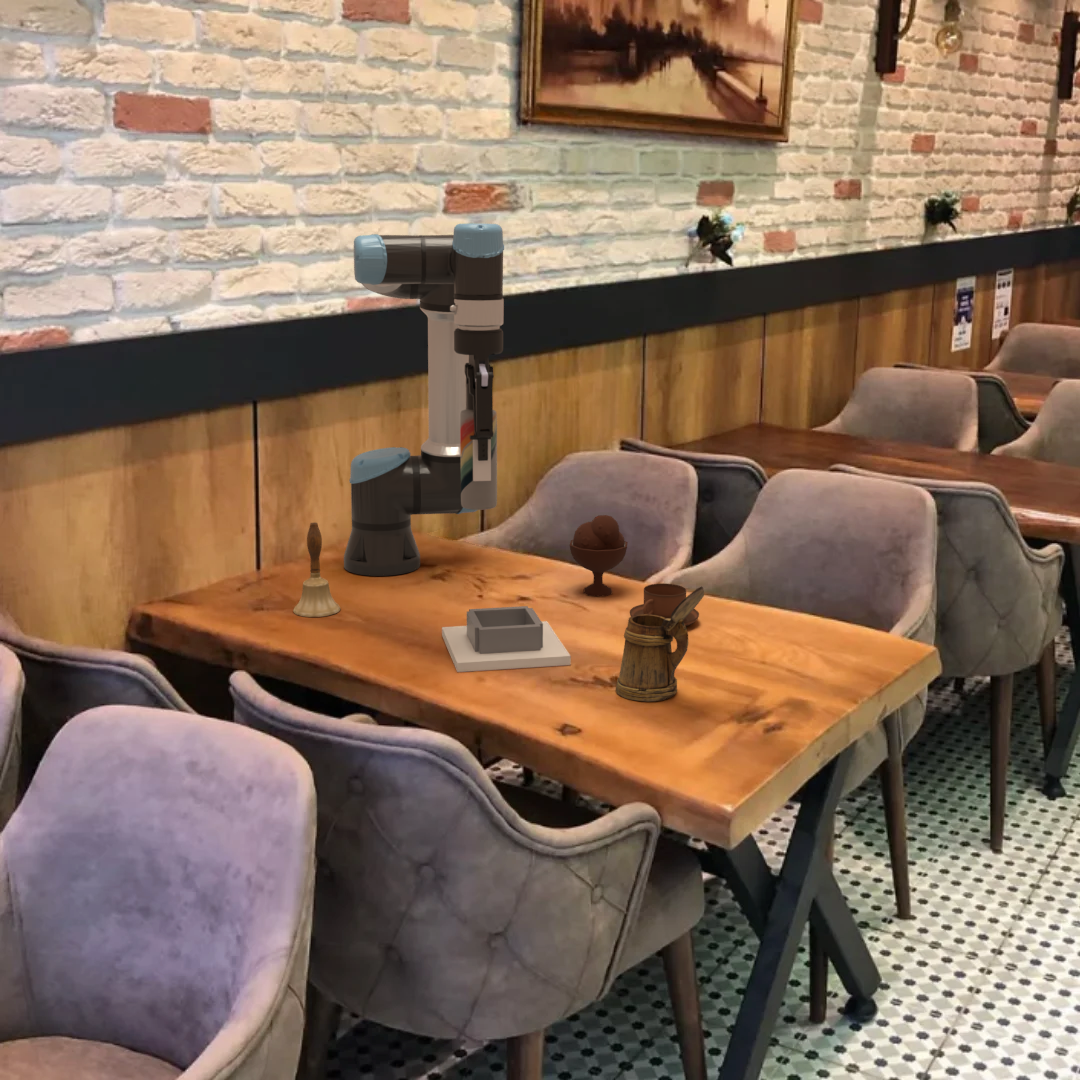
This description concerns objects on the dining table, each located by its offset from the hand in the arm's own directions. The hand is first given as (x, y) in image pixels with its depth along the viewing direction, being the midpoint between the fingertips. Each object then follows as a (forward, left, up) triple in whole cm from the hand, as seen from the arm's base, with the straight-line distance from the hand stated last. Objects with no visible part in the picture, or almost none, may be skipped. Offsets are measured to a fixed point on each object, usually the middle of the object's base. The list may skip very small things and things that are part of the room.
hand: (479, 476), depth 207 cm
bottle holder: (0, +4, -29) cm, 29 cm away
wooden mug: (+24, +23, -29) cm, 44 cm away
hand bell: (-27, -25, -29) cm, 47 cm away
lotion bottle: (0, 0, -5) cm, 5 cm away
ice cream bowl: (-29, +27, -29) cm, 49 cm away
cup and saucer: (-9, +34, -29) cm, 46 cm away
